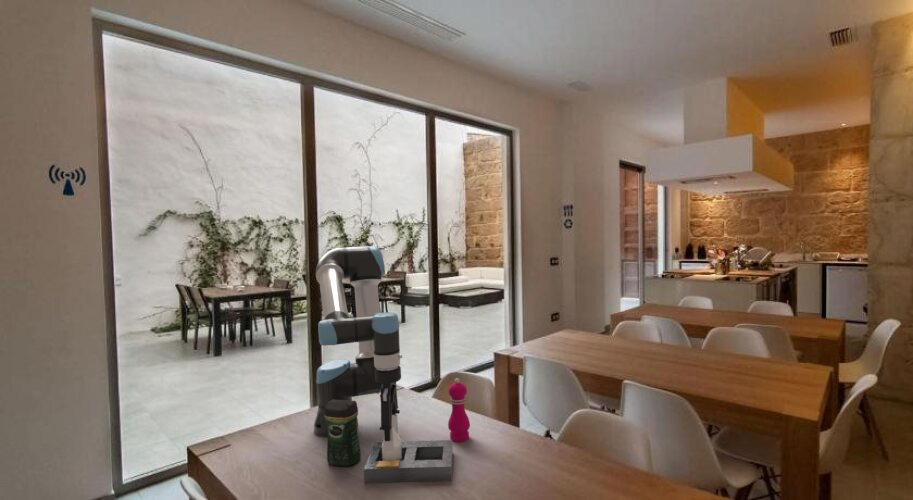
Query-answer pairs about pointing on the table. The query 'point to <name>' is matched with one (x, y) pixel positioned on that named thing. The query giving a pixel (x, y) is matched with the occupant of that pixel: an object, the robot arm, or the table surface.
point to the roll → (394, 454)
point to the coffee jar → (342, 432)
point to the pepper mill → (458, 413)
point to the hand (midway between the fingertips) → (391, 443)
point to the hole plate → (411, 463)
